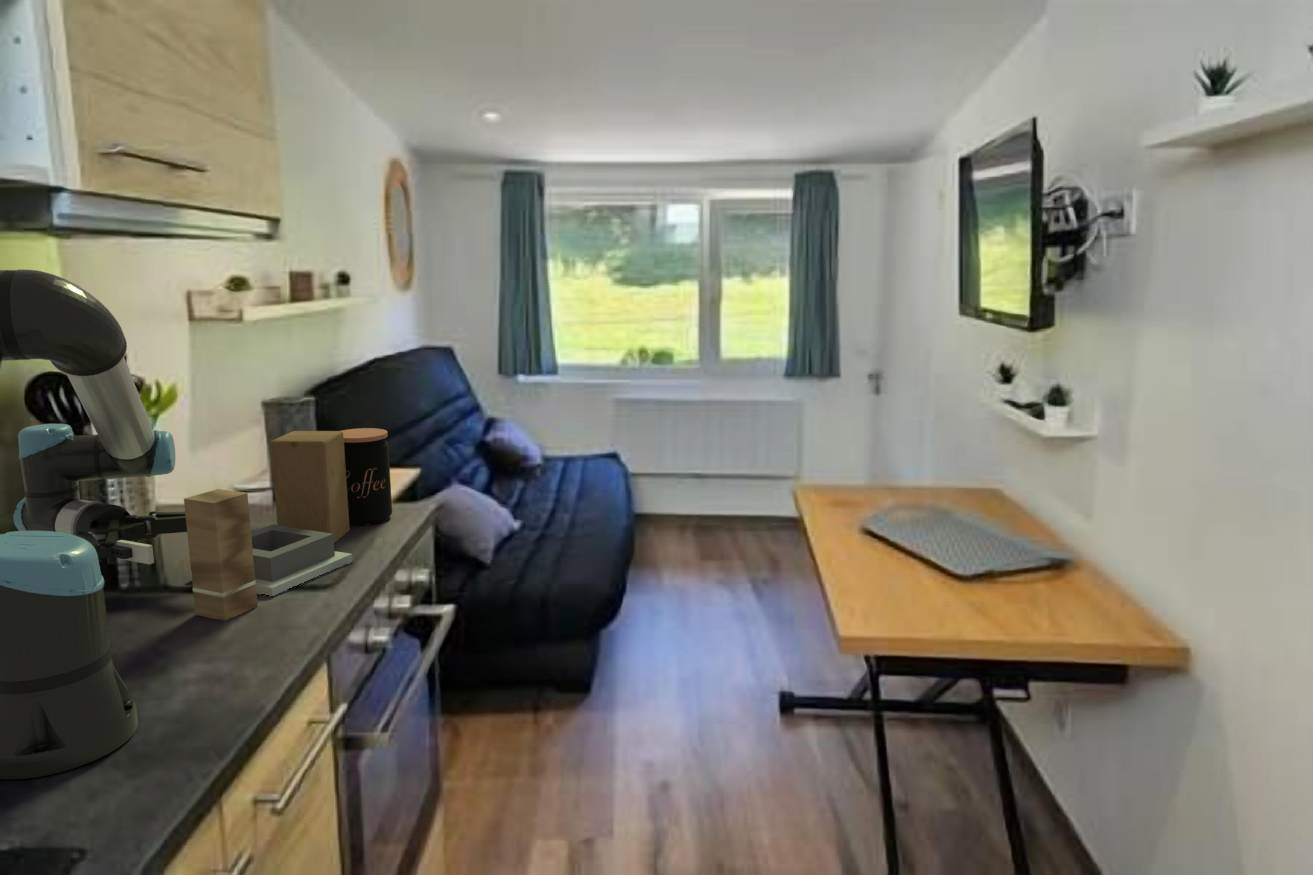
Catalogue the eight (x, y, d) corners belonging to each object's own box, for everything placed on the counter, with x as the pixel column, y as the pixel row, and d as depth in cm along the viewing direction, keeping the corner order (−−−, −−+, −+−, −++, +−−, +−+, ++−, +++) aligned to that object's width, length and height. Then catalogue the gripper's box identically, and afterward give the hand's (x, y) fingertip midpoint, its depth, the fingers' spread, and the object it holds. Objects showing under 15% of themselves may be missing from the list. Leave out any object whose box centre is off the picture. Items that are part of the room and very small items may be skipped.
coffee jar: (333, 527, 178) (327, 438, 174) (343, 513, 188) (337, 428, 185) (389, 525, 180) (383, 437, 176) (395, 510, 190) (391, 427, 186)
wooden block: (331, 546, 166) (324, 441, 162) (278, 546, 166) (269, 440, 162) (350, 530, 176) (344, 430, 172) (300, 530, 176) (292, 430, 172)
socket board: (272, 596, 142) (270, 563, 141) (190, 580, 149) (187, 548, 147) (352, 562, 158) (350, 532, 157) (274, 549, 165) (272, 520, 164)
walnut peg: (225, 621, 132) (213, 503, 129) (195, 614, 134) (183, 498, 131) (258, 606, 138) (247, 493, 134) (228, 600, 140) (218, 488, 136)
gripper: (166, 527, 157) (257, 541, 149) (19, 571, 135) (117, 592, 127) (161, 485, 156) (253, 498, 148) (12, 523, 133) (111, 541, 125)
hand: (191, 541), depth 137 cm, fingers open, 13 cm apart
